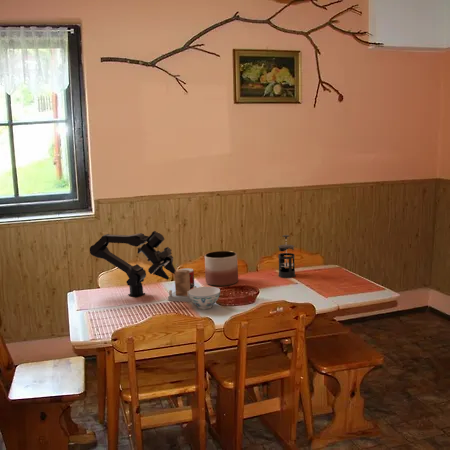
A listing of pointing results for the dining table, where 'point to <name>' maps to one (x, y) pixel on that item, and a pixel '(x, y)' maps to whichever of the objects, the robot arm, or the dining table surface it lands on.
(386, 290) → the dining table surface
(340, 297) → the dining table surface
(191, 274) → the canned food
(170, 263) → the robot arm
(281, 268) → the french press
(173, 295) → the peg seat
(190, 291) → the chinaware
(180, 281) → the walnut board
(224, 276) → the planter
